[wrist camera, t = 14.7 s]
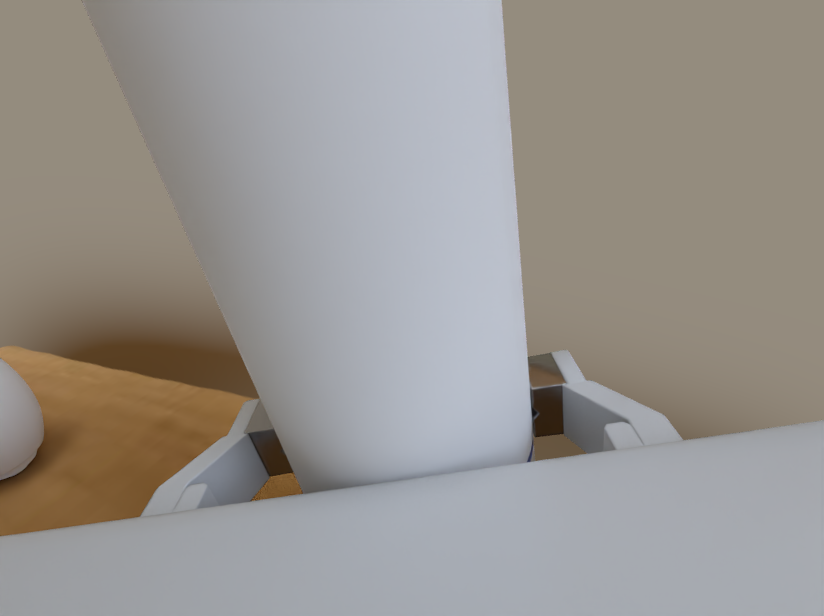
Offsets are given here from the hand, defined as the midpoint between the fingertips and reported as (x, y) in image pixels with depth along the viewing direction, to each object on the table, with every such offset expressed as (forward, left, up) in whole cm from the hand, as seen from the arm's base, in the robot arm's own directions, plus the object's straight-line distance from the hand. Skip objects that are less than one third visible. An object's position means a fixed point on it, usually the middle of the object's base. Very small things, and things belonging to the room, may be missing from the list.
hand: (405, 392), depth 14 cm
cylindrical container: (0, -1, -14) cm, 14 cm away
